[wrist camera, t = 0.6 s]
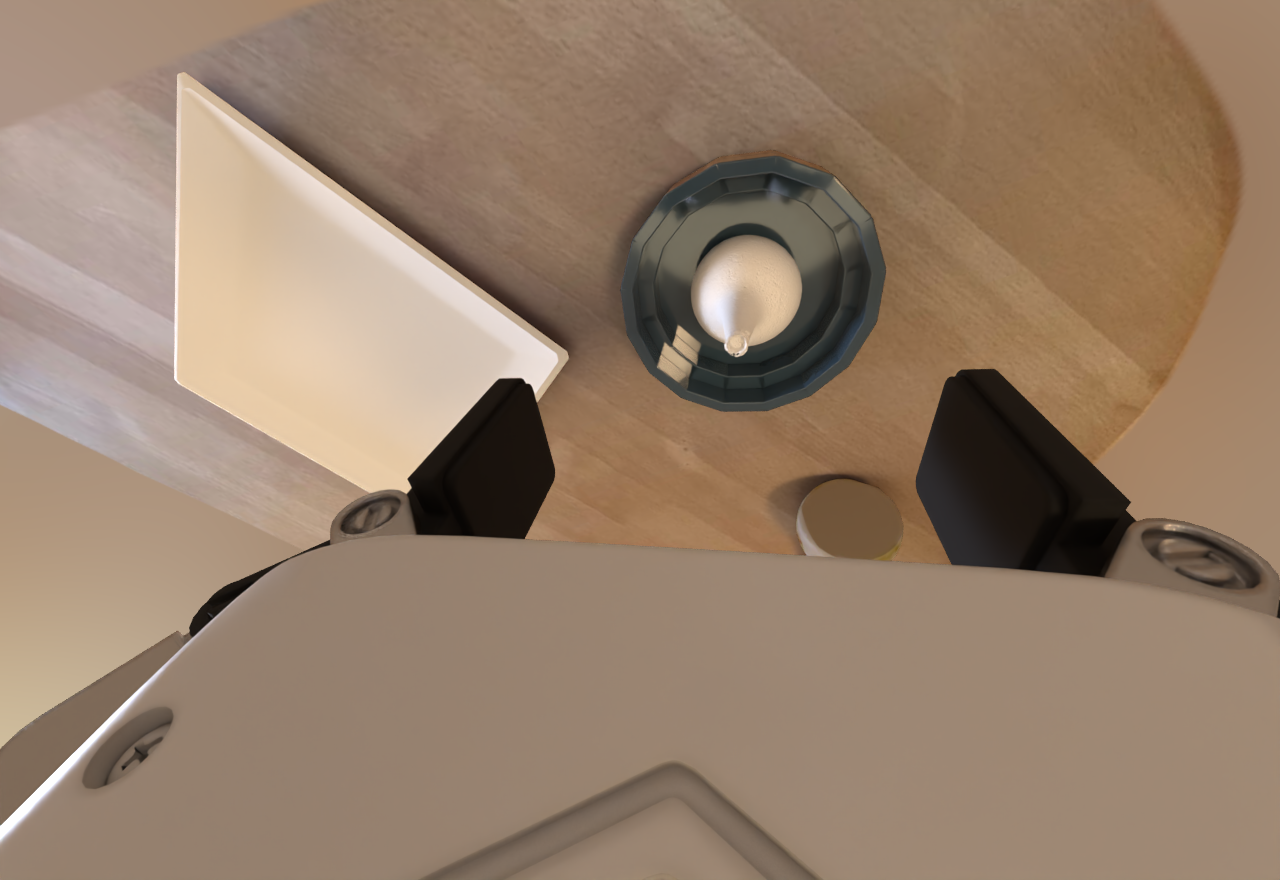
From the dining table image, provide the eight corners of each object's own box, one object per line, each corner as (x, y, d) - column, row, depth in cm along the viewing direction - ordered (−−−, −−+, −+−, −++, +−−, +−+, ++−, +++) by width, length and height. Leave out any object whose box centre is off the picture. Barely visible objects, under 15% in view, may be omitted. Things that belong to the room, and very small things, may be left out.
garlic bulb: (821, 264, 26) (847, 314, 20) (757, 350, 30) (762, 415, 24) (728, 208, 25) (725, 241, 19) (674, 303, 29) (656, 358, 23)
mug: (791, 561, 42) (777, 611, 33) (810, 459, 40) (801, 484, 31) (880, 585, 39) (892, 647, 30) (905, 477, 37) (925, 509, 28)
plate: (194, 371, 41) (171, 382, 39) (208, 69, 26) (172, 66, 25) (451, 521, 47) (441, 536, 45) (579, 343, 32) (570, 356, 31)
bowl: (620, 168, 26) (603, 177, 22) (886, 134, 23) (911, 138, 19) (647, 384, 33) (638, 413, 30) (848, 379, 30) (861, 410, 27)
